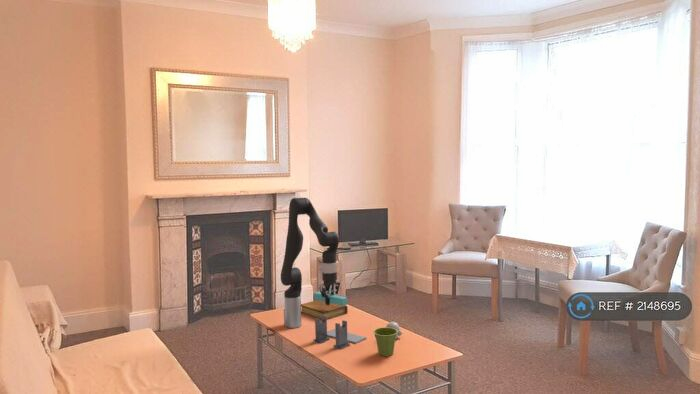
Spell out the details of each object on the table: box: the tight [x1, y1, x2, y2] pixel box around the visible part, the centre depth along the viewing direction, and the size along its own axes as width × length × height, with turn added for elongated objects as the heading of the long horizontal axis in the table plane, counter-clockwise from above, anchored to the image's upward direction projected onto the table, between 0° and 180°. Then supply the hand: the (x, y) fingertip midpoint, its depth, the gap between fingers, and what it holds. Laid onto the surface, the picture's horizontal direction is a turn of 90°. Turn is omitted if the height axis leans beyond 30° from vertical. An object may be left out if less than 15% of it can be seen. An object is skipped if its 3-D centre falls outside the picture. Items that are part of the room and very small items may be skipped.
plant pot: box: [372, 326, 398, 357], centre depth 266 cm, size 12×12×11 cm
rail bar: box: [313, 291, 348, 306], centre depth 281 cm, size 20×4×4 cm, turn 50°
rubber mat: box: [327, 328, 367, 345], centre depth 292 cm, size 23×9×1 cm, turn 50°
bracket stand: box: [313, 316, 351, 350], centre depth 282 cm, size 19×7×12 cm, turn 50°
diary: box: [301, 300, 349, 321], centre depth 336 cm, size 23×19×6 cm
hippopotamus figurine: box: [386, 321, 403, 340], centre depth 287 cm, size 7×12×8 cm, turn 129°
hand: (330, 303), depth 281 cm, fingers closed on rail bar, 3 cm apart
